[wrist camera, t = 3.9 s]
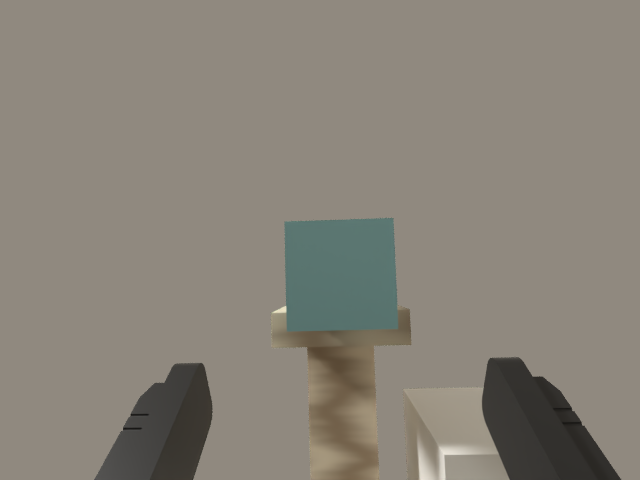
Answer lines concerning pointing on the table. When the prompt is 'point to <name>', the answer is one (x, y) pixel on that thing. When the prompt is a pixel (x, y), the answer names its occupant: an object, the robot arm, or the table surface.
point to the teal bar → (340, 275)
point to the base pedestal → (449, 436)
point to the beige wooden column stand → (342, 394)
